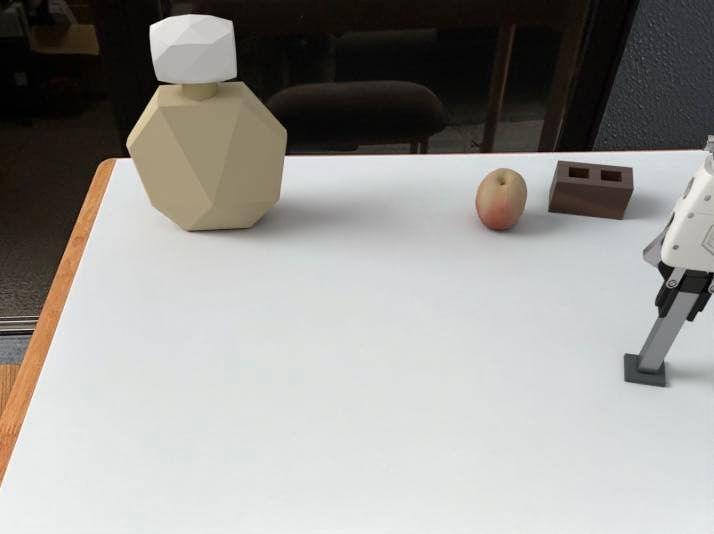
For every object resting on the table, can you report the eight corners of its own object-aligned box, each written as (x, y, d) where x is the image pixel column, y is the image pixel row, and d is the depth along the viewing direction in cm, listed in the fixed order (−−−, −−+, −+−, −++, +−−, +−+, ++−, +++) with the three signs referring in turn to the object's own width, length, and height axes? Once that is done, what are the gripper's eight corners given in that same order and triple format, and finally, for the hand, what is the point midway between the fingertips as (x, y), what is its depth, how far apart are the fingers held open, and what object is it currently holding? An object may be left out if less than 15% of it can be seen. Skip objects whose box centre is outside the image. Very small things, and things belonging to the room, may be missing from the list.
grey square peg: (655, 361, 86) (706, 266, 74) (655, 374, 85) (708, 278, 73) (636, 359, 86) (684, 263, 75) (636, 371, 85) (686, 276, 74)
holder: (549, 190, 111) (558, 160, 107) (621, 197, 110) (632, 167, 105) (547, 211, 108) (556, 181, 104) (621, 219, 106) (634, 189, 102)
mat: (662, 361, 87) (664, 358, 87) (664, 387, 85) (666, 383, 84) (623, 356, 88) (625, 352, 88) (624, 381, 85) (626, 378, 85)
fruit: (464, 231, 105) (473, 181, 99) (479, 206, 109) (488, 156, 102) (513, 242, 103) (525, 192, 97) (526, 216, 107) (539, 166, 100)
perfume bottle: (291, 236, 105) (282, 28, 82) (143, 243, 105) (91, 36, 82) (289, 196, 112) (280, -7, 89) (150, 203, 112) (103, 0, 89)
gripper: (674, 164, 63) (605, 323, 78) (857, 182, 60) (749, 342, 76) (669, 127, 67) (605, 285, 82) (841, 142, 64) (742, 302, 80)
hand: (675, 311), depth 79 cm, fingers closed on grey square peg, 2 cm apart
